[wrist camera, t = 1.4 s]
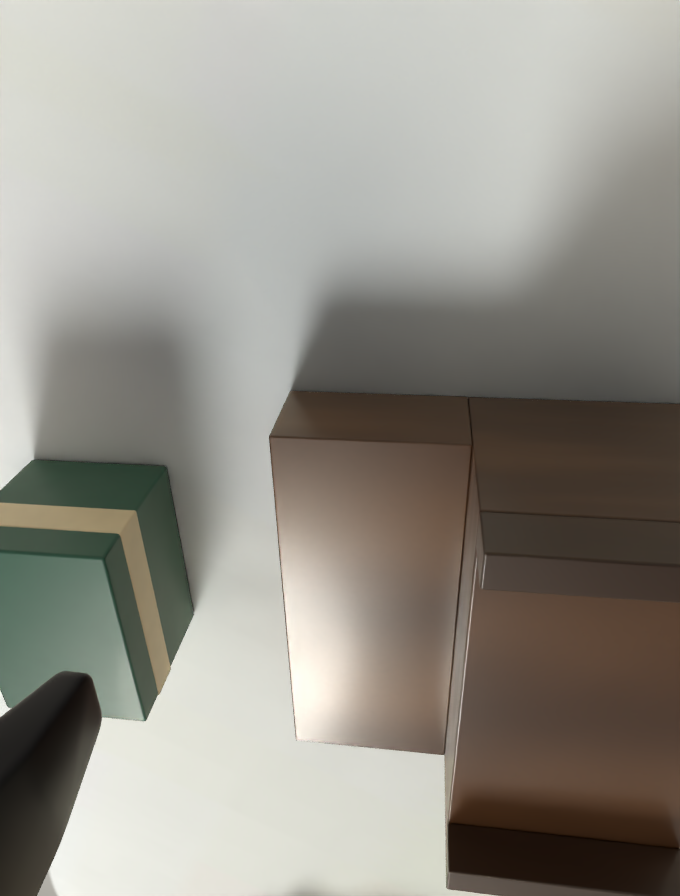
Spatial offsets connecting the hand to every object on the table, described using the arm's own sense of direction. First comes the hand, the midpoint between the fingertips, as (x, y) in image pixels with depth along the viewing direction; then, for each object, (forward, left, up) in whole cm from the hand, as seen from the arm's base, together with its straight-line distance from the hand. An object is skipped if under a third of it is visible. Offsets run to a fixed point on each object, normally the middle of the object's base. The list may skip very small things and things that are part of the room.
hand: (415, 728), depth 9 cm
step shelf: (-7, -2, -13) cm, 15 cm away
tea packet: (-7, +11, -13) cm, 18 cm away
